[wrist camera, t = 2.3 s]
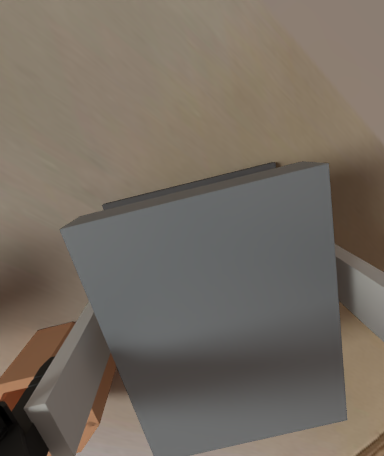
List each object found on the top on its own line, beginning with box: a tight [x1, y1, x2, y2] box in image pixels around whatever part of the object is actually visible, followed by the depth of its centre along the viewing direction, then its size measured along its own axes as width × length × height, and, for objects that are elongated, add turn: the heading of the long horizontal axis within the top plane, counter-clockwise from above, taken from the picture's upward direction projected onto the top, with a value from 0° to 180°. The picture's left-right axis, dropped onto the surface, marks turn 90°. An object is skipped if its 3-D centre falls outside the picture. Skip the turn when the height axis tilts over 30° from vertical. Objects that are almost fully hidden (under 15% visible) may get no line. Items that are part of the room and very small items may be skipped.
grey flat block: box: [59, 162, 347, 456], centre depth 12 cm, size 13×10×2 cm
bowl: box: [0, 322, 116, 456], centre depth 19 cm, size 7×7×5 cm
